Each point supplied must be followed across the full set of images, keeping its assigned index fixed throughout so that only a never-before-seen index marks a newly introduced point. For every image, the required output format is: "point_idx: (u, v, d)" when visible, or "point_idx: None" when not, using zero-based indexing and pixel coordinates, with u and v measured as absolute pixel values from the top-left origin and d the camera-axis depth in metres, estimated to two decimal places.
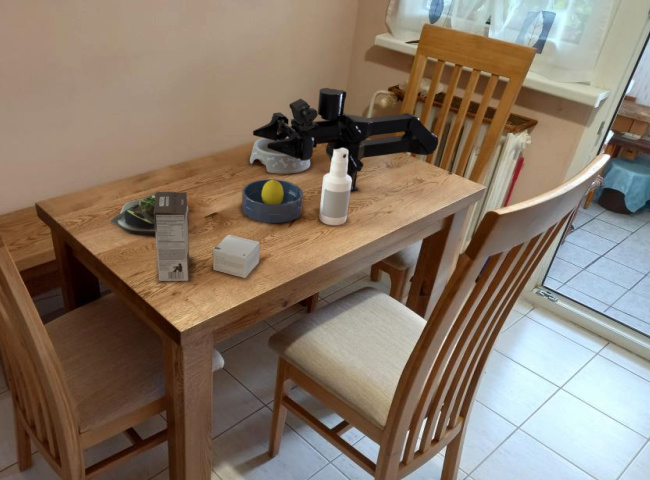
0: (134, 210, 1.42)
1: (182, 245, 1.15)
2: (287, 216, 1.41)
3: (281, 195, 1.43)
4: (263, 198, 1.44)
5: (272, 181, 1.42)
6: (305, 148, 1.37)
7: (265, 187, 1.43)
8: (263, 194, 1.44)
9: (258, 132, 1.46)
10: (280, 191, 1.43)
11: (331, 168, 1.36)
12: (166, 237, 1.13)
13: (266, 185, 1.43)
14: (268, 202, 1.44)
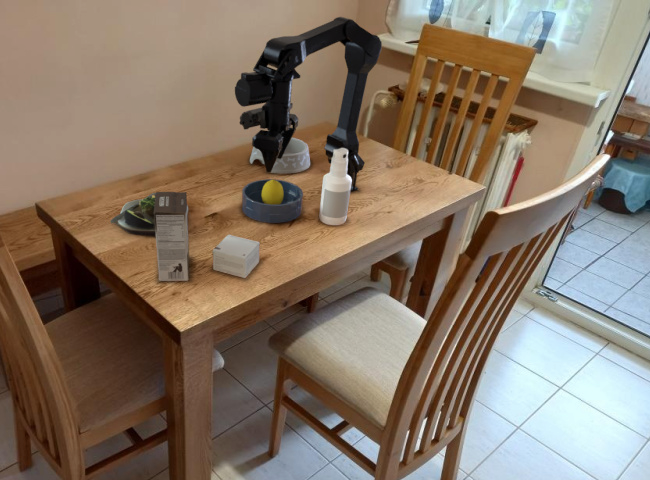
0: (134, 210, 1.42)
1: (182, 245, 1.15)
2: (287, 216, 1.41)
3: (281, 195, 1.43)
4: (263, 198, 1.44)
5: (272, 181, 1.42)
6: (263, 146, 1.29)
7: (265, 187, 1.43)
8: (263, 194, 1.44)
9: (279, 153, 1.43)
10: (280, 191, 1.43)
11: (331, 168, 1.36)
12: (166, 237, 1.13)
13: (266, 185, 1.43)
14: (268, 202, 1.44)
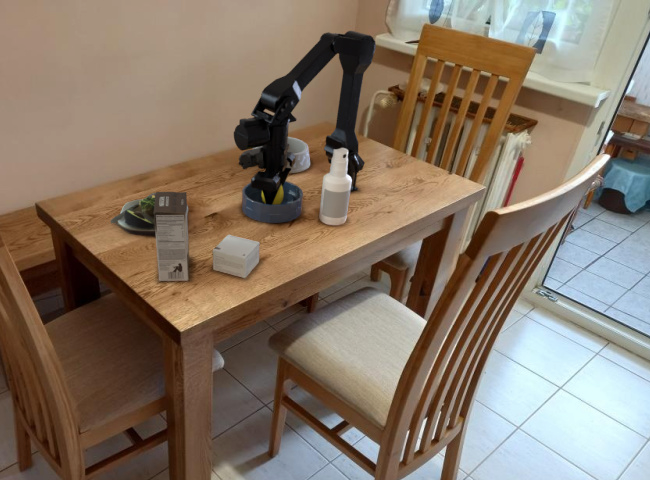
0: (134, 210, 1.42)
1: (182, 245, 1.15)
2: (287, 216, 1.41)
3: (281, 195, 1.43)
4: (263, 198, 1.44)
5: None
6: (261, 187, 1.34)
7: None
8: (263, 194, 1.44)
9: None
10: (280, 191, 1.43)
11: (331, 168, 1.36)
12: (166, 237, 1.13)
13: None
14: None
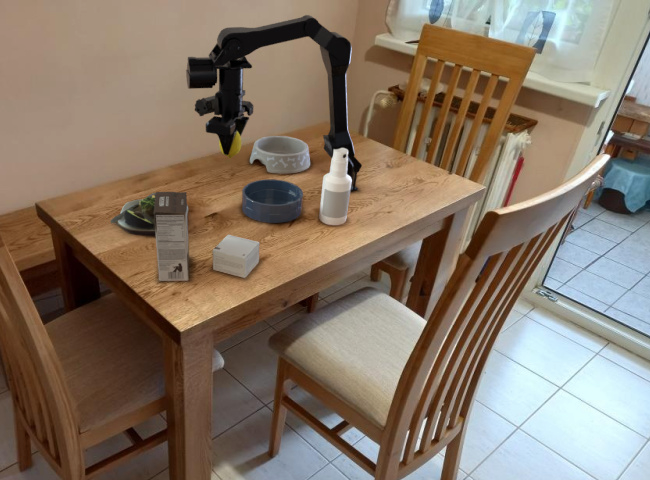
0: (134, 210, 1.42)
1: (182, 245, 1.15)
2: (287, 216, 1.41)
3: (238, 143, 1.43)
4: (220, 146, 1.44)
5: None
6: (216, 132, 1.34)
7: None
8: None
9: None
10: (237, 139, 1.43)
11: (331, 168, 1.36)
12: (166, 237, 1.13)
13: None
14: None
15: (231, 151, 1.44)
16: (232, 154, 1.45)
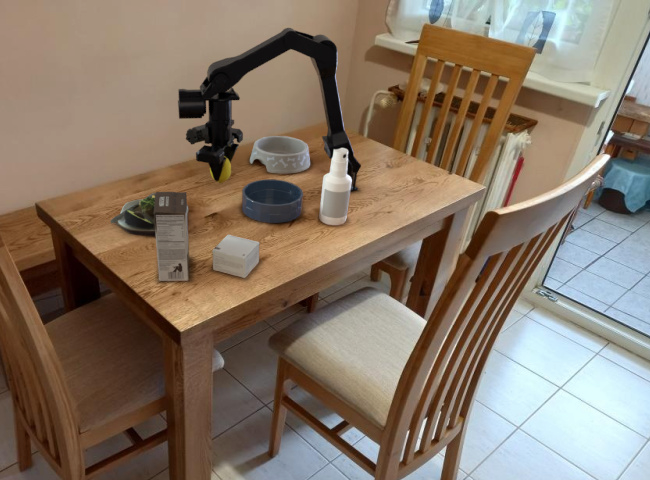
0: (134, 210, 1.42)
1: (182, 245, 1.15)
2: (287, 216, 1.41)
3: (228, 170, 1.49)
4: (211, 172, 1.50)
5: None
6: (206, 160, 1.41)
7: None
8: None
9: None
10: (227, 165, 1.49)
11: (331, 168, 1.36)
12: (166, 237, 1.13)
13: None
14: None
15: (221, 177, 1.50)
16: (222, 180, 1.51)
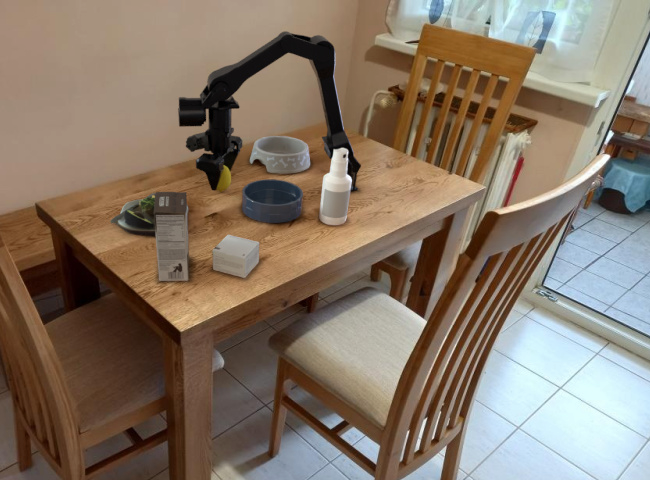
0: (134, 210, 1.42)
1: (182, 245, 1.15)
2: (287, 216, 1.41)
3: (228, 179, 1.51)
4: None
5: None
6: (205, 168, 1.42)
7: None
8: None
9: None
10: (227, 175, 1.50)
11: (331, 168, 1.36)
12: (166, 237, 1.13)
13: None
14: None
15: (221, 186, 1.51)
16: (222, 189, 1.52)
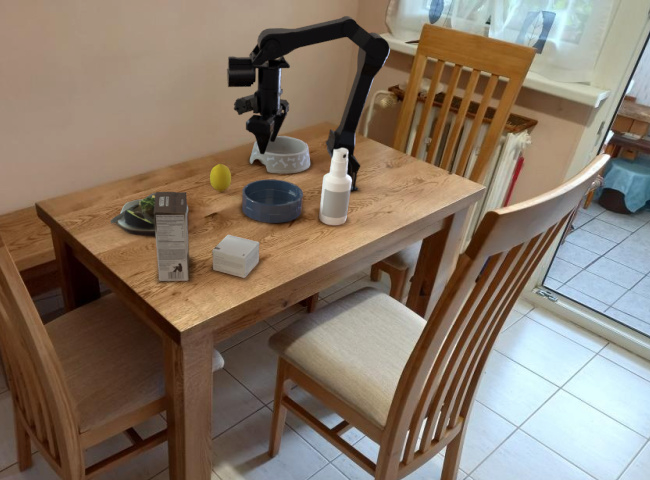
0: (134, 210, 1.42)
1: (182, 245, 1.15)
2: (287, 216, 1.41)
3: (228, 179, 1.51)
4: (211, 181, 1.52)
5: (219, 165, 1.50)
6: (256, 129, 1.39)
7: (213, 171, 1.50)
8: (211, 178, 1.51)
9: (272, 136, 1.53)
10: (227, 175, 1.50)
11: (331, 168, 1.36)
12: (166, 237, 1.13)
13: (213, 169, 1.50)
14: (216, 185, 1.51)
15: (221, 186, 1.51)
16: (222, 189, 1.52)
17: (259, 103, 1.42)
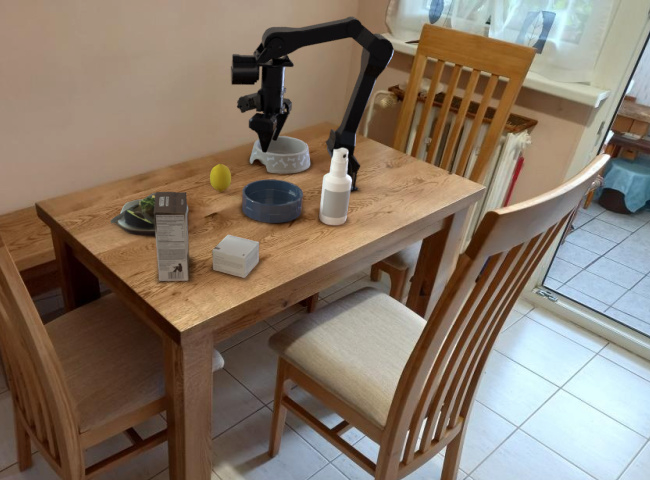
0: (134, 210, 1.42)
1: (182, 245, 1.15)
2: (287, 216, 1.41)
3: (228, 179, 1.51)
4: (211, 181, 1.52)
5: (219, 165, 1.50)
6: (259, 128, 1.39)
7: (213, 171, 1.50)
8: (211, 178, 1.51)
9: (274, 135, 1.53)
10: (227, 175, 1.50)
11: (331, 168, 1.36)
12: (166, 237, 1.13)
13: (213, 169, 1.50)
14: (216, 185, 1.51)
15: (221, 186, 1.51)
16: (222, 189, 1.52)
17: (262, 101, 1.42)
